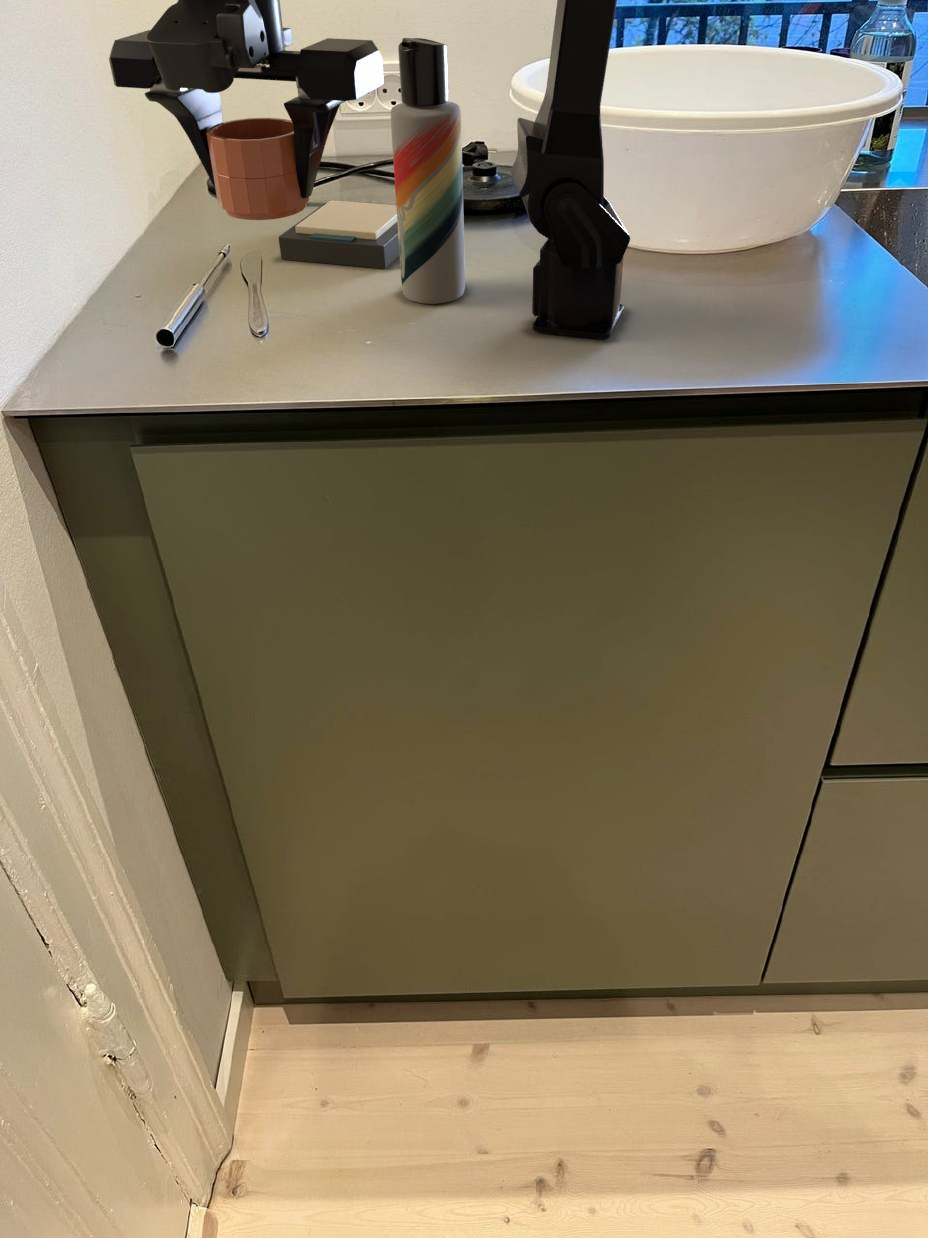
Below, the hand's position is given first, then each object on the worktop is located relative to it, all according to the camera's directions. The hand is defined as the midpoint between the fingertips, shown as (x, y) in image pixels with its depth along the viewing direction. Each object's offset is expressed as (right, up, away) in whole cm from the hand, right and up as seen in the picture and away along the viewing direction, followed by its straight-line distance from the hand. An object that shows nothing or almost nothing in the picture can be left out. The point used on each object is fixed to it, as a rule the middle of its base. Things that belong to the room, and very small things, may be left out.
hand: (263, 193), depth 74 cm
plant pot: (0, -1, +1) cm, 1 cm away
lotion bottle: (+12, -3, +14) cm, 19 cm away
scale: (+4, +5, +24) cm, 25 cm away
